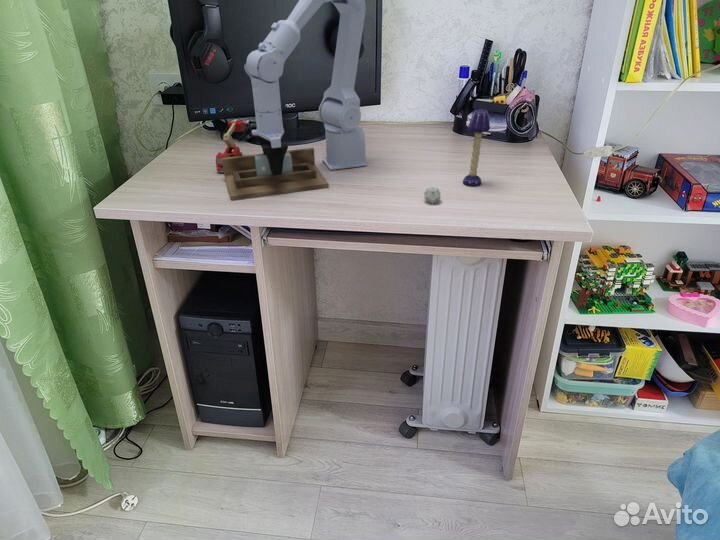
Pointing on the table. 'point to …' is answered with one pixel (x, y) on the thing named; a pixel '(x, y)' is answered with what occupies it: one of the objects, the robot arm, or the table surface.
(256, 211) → the table surface
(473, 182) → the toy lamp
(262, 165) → the grey-blue rectangular block
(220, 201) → the table surface
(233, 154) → the toy fire truck
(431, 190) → the game die
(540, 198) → the table surface
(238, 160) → the track base
